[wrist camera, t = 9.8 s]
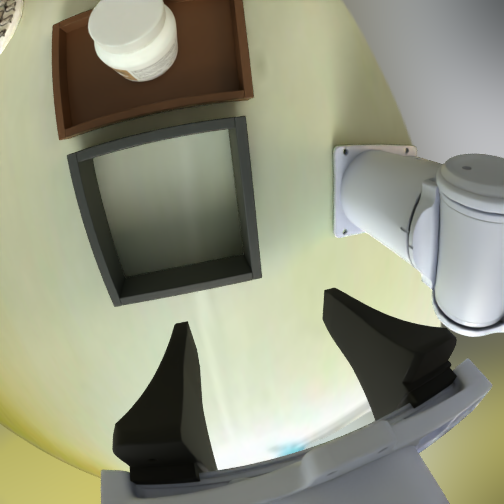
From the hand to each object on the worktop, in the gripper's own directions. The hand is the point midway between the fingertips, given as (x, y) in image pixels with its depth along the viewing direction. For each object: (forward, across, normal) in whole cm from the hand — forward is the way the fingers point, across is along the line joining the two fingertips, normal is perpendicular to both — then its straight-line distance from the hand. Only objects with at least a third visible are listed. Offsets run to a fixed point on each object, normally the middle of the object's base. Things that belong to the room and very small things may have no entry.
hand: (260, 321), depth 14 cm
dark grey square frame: (+9, +4, -4) cm, 11 cm away
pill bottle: (+9, +4, -16) cm, 18 cm away
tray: (+9, +4, -16) cm, 19 cm away
